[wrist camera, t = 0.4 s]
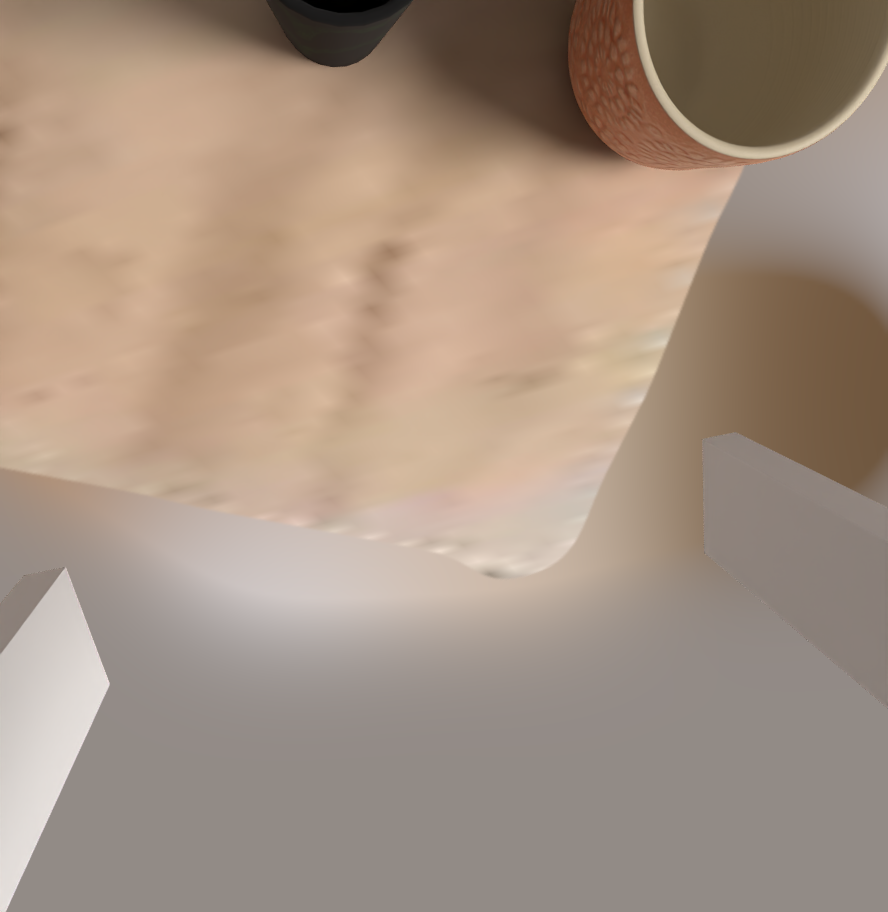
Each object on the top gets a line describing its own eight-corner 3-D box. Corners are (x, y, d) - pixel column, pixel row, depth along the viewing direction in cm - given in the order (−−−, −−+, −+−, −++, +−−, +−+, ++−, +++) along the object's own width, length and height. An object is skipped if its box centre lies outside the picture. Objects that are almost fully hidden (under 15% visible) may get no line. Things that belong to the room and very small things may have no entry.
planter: (531, -61, 35) (619, -180, 25) (755, -89, 36) (926, -213, 26) (556, 195, 39) (640, 183, 29) (756, 162, 41) (904, 138, 30)
